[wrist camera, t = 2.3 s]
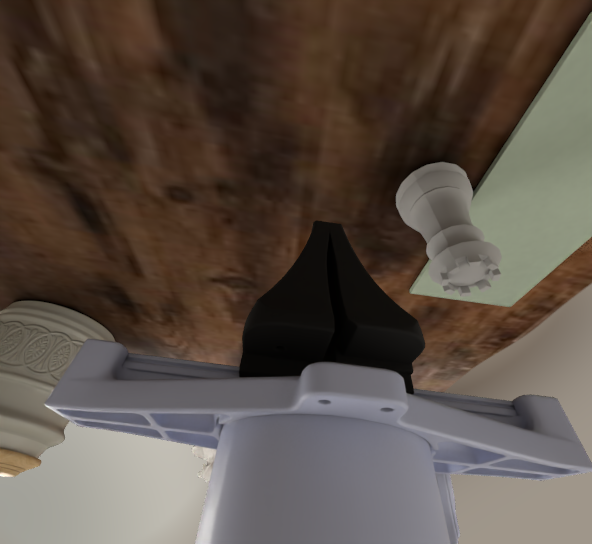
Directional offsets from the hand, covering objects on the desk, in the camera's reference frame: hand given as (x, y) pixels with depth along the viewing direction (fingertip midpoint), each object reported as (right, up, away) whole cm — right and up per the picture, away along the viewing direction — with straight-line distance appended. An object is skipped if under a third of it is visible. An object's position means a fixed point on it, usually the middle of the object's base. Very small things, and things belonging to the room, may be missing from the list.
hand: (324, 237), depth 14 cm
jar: (-32, -9, +23) cm, 40 cm away
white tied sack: (-20, -42, +56) cm, 73 cm away
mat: (+15, +3, +5) cm, 16 cm away
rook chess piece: (+7, +4, +5) cm, 10 cm away
